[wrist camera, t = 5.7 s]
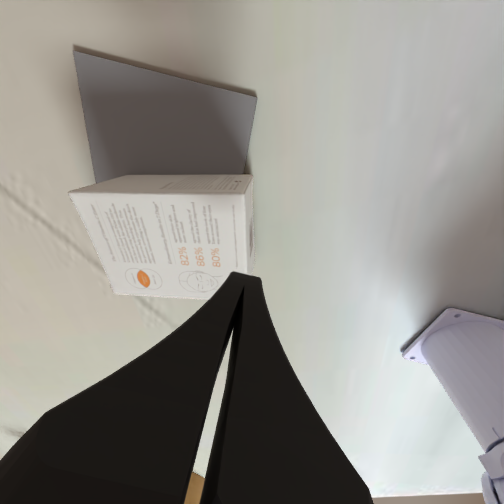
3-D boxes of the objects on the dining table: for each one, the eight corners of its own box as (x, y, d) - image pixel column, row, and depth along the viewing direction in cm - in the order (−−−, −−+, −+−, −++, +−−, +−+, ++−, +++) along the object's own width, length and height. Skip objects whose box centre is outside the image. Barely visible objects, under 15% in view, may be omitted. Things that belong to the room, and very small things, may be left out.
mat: (257, 98, 14) (257, 97, 13) (223, 283, 22) (222, 285, 21) (76, 52, 13) (72, 50, 13) (110, 256, 22) (108, 257, 21)
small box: (255, 173, 16) (124, 171, 17) (246, 192, 11) (62, 188, 12) (255, 262, 20) (150, 256, 21) (248, 305, 15) (111, 295, 16)
